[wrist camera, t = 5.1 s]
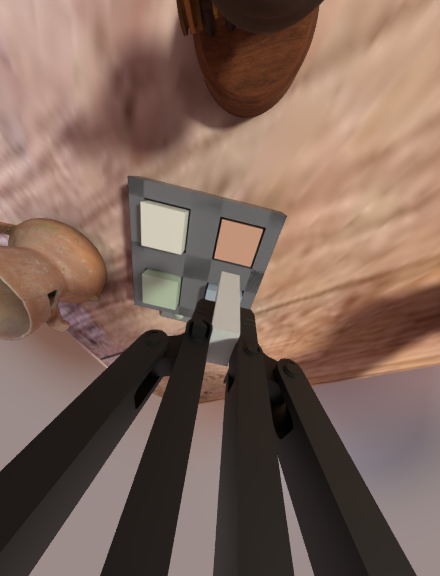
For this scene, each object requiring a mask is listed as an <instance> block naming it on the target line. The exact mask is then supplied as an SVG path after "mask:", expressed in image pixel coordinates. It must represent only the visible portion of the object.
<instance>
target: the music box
mask: <svg viewBox="0 0 440 576" xmlns="http://www.w3.org/2000/svg"><path fill="white" fill-rule="evenodd" d="M176 1H177V8H178V14H179V19H180V24H181V28H182V32H183V34H184V36H186V35H188V28H190V31H191V33H192V34H193V37H194V44H195V50H196V54H197V58H198V61H199V64H200V67H201V70H202V73H203V76H204V79H205V82H206V84H207V87H208V89H209V91H210V93H211V95H212V96H213V98H214V99H215V100H216V102H217V103H218V104H219V105H220V106H221V107H222V108H223V109H224V110H226V111H227V112H229V113H231V114H233V115H236V116H239V117H253V116H257V115H260V114H262V113H264V112H266V111H267V110H269V109H270V108H272V107H273V106H274V105H275V104H276V103H277V102H278V101H279V100H280V99H281V98H282V97H283V96H284V94H285V93H286V92H287V90H288V89H289V87H290V86H291V84H292V82H293V80H294V78H295V77H296V75H297V73H298V71H299V69H300V67H301V65H302V63H303V61H304V59H305V57H306V55H307V52H308V50H309V47H310V45H311V42H312V39H313V35H314V32H315V28H316V23H317V18H318V12H319V5H320V4H321V3H322V2H323V1H324V0H176Z"/></svg>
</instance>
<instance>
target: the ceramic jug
mask: <svg viewBox="0 0 440 576" xmlns="http://www.w3.org/2000/svg"><path fill="white" fill-rule="evenodd" d="M0 233H4V234H9V235H10V236H9V241H8V247H7V246H0V339H3V340H19V339H22V338H24V337H26V336H27V335H29V334H31V333H32V332H34V331H35V330H36V329H37V328H38V327H39V326H40V325H41V324H42V323H43V322H46V323H47V324H48V326H49V327H50V328H52V329H54V330H56V331H59V332H64V331H66V330H67V329H68V328H69V327H70V323H69V322H66V321H65V320H63V319H62V317H61V315H60V310H59V309H58V302H59V301H61V302H66V303H81V302H85V301H95V300H98V299H99V298H100V295H101V292H102V290H103V288H104V286H105V283H106V277H107V272H106V267H105V263H104V261H103V258H102V256H101V254H100V253H99V251H98V250H97V248H96V247H95V246H94V245H93V243H92V242H91V241H90V240H89V239H88V238H86V237H85V236H84V235H83V234H82V233H80V232H79V231H77V230H76V229H74V228H73V227H71V226H69V225H67V224H65V223H62V222H59V221H56V220H52V219H44V218H36V219H30V220H26V221H24V222H22V223H20V224H19V225H12V224H7V223H3V222H0Z"/></svg>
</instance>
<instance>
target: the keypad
mask: <svg viewBox="0 0 440 576" xmlns="http://www.w3.org/2000/svg"><path fill="white" fill-rule="evenodd" d="M128 193H129V211H130V230H131V248H132V266H133V285H134V303H135V305H138V306H142V307H147V308H151V309H155V310H160V311H164V312H169V313H173V314H177V315H182V316H186V317H190V318H192V316H193V313H194V310H195V308H196V305H197V302H198V301H199V300H200V299H205V297H206V292H207V288H208V284H209V283H212V284H216V285H219V281H220V277H221V273H222V271H223V272H227V273H231V274H235V275H240V290H242V299H241V302H240V307H242V308H246V309H250V308H251V306H252V303H253V301H254V298H255V296H256V293H257V291H258V288H259V286H260V283H261V281H262V278H263V275H264V273H265V270H266V268H267V265H268V263H269V260H270V258H271V255H272V253H273V250H274V248H275V245H276V242H277V240H278V237H279V235H280V232H281V230H282V227H283V225H284V222H285V220H286V217H287V216H286V215H285V214H284V213H282V212H280V211H276V210H272V209H268V208H264V207H260V206H256V205H252V204H248V203H244V202H240V201H236V200H232V199H228V198H224V197H220V196H216V195H212V194H208V193H204V192H200V191H196V190H192V189H188V188H184V187H181V186H177V185H173V184H169V183H165V182H161V181H157V180H153V179H149V178H145V177H139V176H128ZM147 200H150V201H154V202H158V203H162V204H166V205H170V206H174V207H178V208H182V209H186V210H190V211H189V220H188V228H187V237H186V246H185V250H184V252H183V253H182V254H181V255H180V254H176V253H171V252H167V251H163V250H159V249H155V248H151V247H146V246H142V245H141V205H140V202H141V201H147ZM223 217H224V218H228V219H232V220H236V221H240V222H244V223H248V224H252V225H257V226H261V227H262V228H263V232H262V235H261V238H260V241H259V244H258V246H257V249H256V252H255V255H254V258H253V261H252V264H251V267H248V266H244V265H240V264H236V263H232V262H228V261H223V260H219V259H215V258H214V256H215V252H216V247H217V242H218V237H219V233H220V228H221V223H222V219H223ZM148 268H149V269H153V270H157V271H161V272H166V273H170V274H174V275H178V276H182V281H181V290H180V298H179V303H178V305H177V307H176V309H175V310H173V309H168V308H164V307H160V306H155V305H151V304H147V303H143V291H142V274H143V273H144V272H145V271H146V270H147V269H148Z"/></svg>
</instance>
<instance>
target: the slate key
mask: <svg viewBox="0 0 440 576" xmlns="http://www.w3.org/2000/svg"><path fill="white" fill-rule="evenodd" d="M217 289H218V285H216V284H212V283H209V284H208V288H207V292H206V297H205V299H206V300H211V301H215V297H216V293H217ZM241 299H242V290H240V302H241Z"/></svg>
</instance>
